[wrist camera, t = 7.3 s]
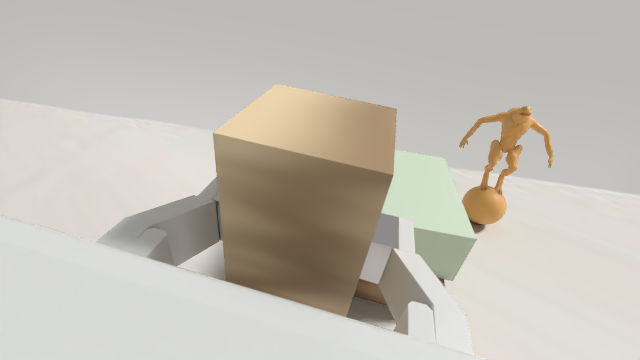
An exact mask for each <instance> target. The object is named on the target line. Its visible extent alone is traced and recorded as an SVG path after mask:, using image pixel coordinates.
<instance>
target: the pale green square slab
mask: <svg viewBox="0 0 640 360" xmlns="http://www.w3.org/2000/svg"><path fill="white" fill-rule="evenodd" d="M381 213H385V214H389V215H393V216H397V217H398V216H399V217H403V218H408V219H412V220H413V224H414V242H415V254H418V255H420V256H421V258H422V259H423V260H424V261H425V263H426V264H427V265H428V267H429V268H430V269H431V270H432V272H433V273H434V274H435V276H436V277H437V278H441V279H446V280H451V281H453V279H454V278H455V276H456V274H457V273H458V271H459V269H460V267H461V266H462V264H463V262H464V260H465V259H466V257H467V255H468V254H469V252H470V250H471V248H472V247H473V245H474V243H475V241H476V240H477V238H476V236H475V233H474V231H473V228H472V226H471V223H470V221H469V218H468V216H467V213H466V211H465V208H464V206H463V203H462V201H461V198H460V195H459V193H458V190H457V188H456V185H455V183H454V180H453V178H452V175H451V173H450V170H449V168H448V165H447V163H446V160H445V158H440V157H434V156H428V155H422V154H416V153H410V152H404V151H398V150H395V156H394V175H393V178H392V181H391V184H390V187H389V190H388V193H387V196H386V199H385V202H384V206H383V209H382V212H381Z"/></svg>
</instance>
